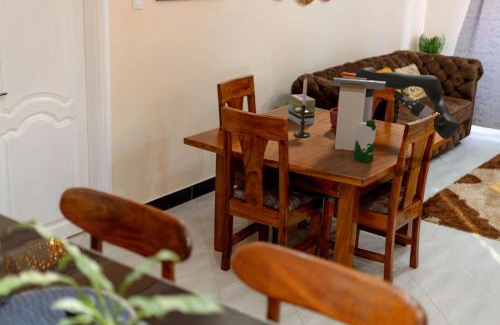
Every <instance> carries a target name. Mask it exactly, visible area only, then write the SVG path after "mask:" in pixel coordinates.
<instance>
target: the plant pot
mask: <svg viewBox="0 0 500 325" xmlns="http://www.w3.org/2000/svg"><path fill="white" fill-rule="evenodd" d="M337 117H338V107H334V108H331V109H330V110H329V120H330V124H331V126H330V129H331V131H333V132H336V130H337Z"/></svg>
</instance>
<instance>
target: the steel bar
mask: <svg viewBox="0 0 500 325" xmlns="http://www.w3.org/2000/svg"><path fill="white" fill-rule="evenodd" d="M340 84H350V85H362V86H365V87H364V88H367V89H375V90H379V91H381V90H382V91H385V90H386V87H385V84H386V82H383V81H370V80H358V79H345V78H344V77H333V81H332V86H334V87H340Z"/></svg>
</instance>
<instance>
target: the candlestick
mask: <svg viewBox="0 0 500 325" xmlns="http://www.w3.org/2000/svg"><path fill="white" fill-rule="evenodd" d="M307 92H308V80H307V72H304V79H303V88H302V94H303V100H302V104H301V106H302V107H298V108H294V110H293V111H294V112H295V113H298V114H302V121H300V123H301V125H299V126H300V131H295V132H293V136H294V137H295V138H301V139H307V138H310V137H311V133H310V132H307V131H304V129H305V127H306V126H305V125H304V124H305V121H304V115H305V114H312V113H313V112H314V110H313V109H311V108H306V106H308V105H306V96H307Z"/></svg>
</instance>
